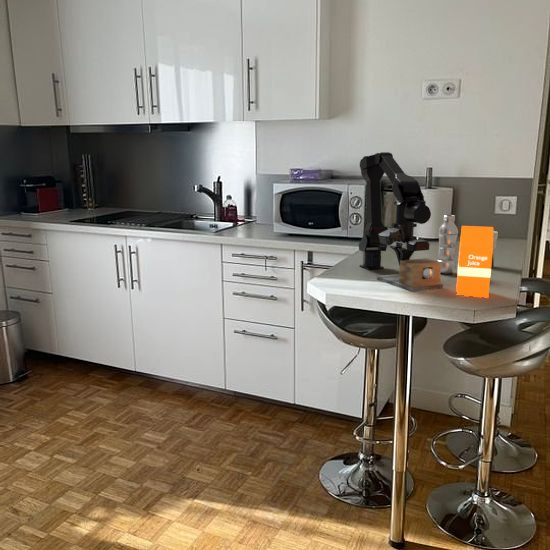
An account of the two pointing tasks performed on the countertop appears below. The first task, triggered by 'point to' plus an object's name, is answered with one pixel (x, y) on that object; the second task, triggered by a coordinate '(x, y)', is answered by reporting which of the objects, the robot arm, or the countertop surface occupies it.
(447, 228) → the plastic bottle
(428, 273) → the shaft
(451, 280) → the countertop surface
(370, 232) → the robot arm
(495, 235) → the character mug
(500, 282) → the countertop surface
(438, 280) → the bearing block
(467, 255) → the orange juice
